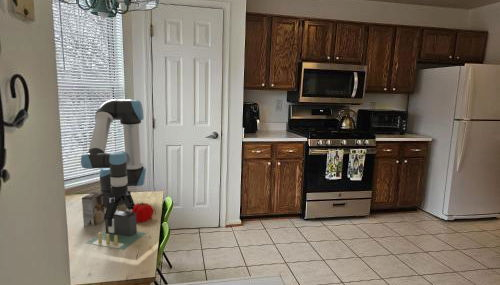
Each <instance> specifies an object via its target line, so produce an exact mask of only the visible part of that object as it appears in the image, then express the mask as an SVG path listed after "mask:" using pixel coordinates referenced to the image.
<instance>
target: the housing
mask: <svg viewBox="0 0 500 285" xmlns="http://www.w3.org/2000/svg"><path fill="white" fill-rule="evenodd" d="M113 219H114V231H115V232H114V233H111V234H117V235H124V236H130V237H131V236H132V235H134V234H135V233H136V232H137V231H138V230H137V222H136V213H133V212H126V211H124V210H118V209H116V212H115V214H114V217H113ZM104 226H105V229H104V230H105V231H104V232H106V233H110V232H109V230H108V220H104Z"/></svg>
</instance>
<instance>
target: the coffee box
mask: <svg viewBox="0 0 500 285" xmlns="http://www.w3.org/2000/svg"><path fill="white" fill-rule="evenodd" d="M81 206H82V216H83V217H82V218H83V219H82V220H83V227H85V226H92V227H93V226H94V227H95V226H97V225H98V224H100V223H101V222H104V221H105V220H104V216H105V212H106V209H105V207H104V193H100V192H91V193H89V194H87V195H85V196H83V197H81Z"/></svg>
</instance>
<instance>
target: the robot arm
mask: <svg viewBox="0 0 500 285" xmlns="http://www.w3.org/2000/svg"><path fill="white" fill-rule="evenodd" d="M94 120H95V124H94V126H93V127H94V128H93V131H92V135H91V140H90V143H89V148H88V152H85V153H82V154H81V156H80V157H81V158H80V164H81V167H82V168H83V169H89V170H93V169H100V170H99V183H100V187H99V188H100V192H99V193H104V208H105V216H104V220H103V221H105V220H108V230H109V232H110V233H114V232H115V231H114V219H113V217H114V214H115V212H116V210H118V208H119V206H121V205H122V204H123V205H124V206H125V207H126V209H125V210H126V212H132V209H134V207H133V206H135V204H136V203H135V201H134V199H133V197H132V195H131V190H129V188H128V187H140V186H141V187H142V186H143V185H145V181H146V180H145V179H146V172H147V168H146V166H144V164H143V163H142V162H141V150H140V128H139V127H140V125H141V123H142V121H143V120H144V108H143V105H142V102H141V101H140V100H138V99H109V100H107V101H105V102H103V103H102V104H101V105H100V106H99V107H98V108H97V110H96V112H95V114H94ZM115 120H117V121H119V122H120V125H122V126H123V127H122V128H123V129H122V130H123V138H124V139H123V140H124V151H114V152H106V147H107V143H108V138H109V133H110V128H111V124H112V123H113V122H114V121H115Z"/></svg>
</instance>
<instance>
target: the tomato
mask: <svg viewBox="0 0 500 285" xmlns="http://www.w3.org/2000/svg"><path fill="white" fill-rule="evenodd" d="M134 204H135V206H133V207H134V209H132V212H133V213H136V223H144V222H147V221H150V220H151V219H152V217H153V214H154V208H153V206H152V205H151V204H149V203H146V202H143V201H142V202H140V203H134Z"/></svg>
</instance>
